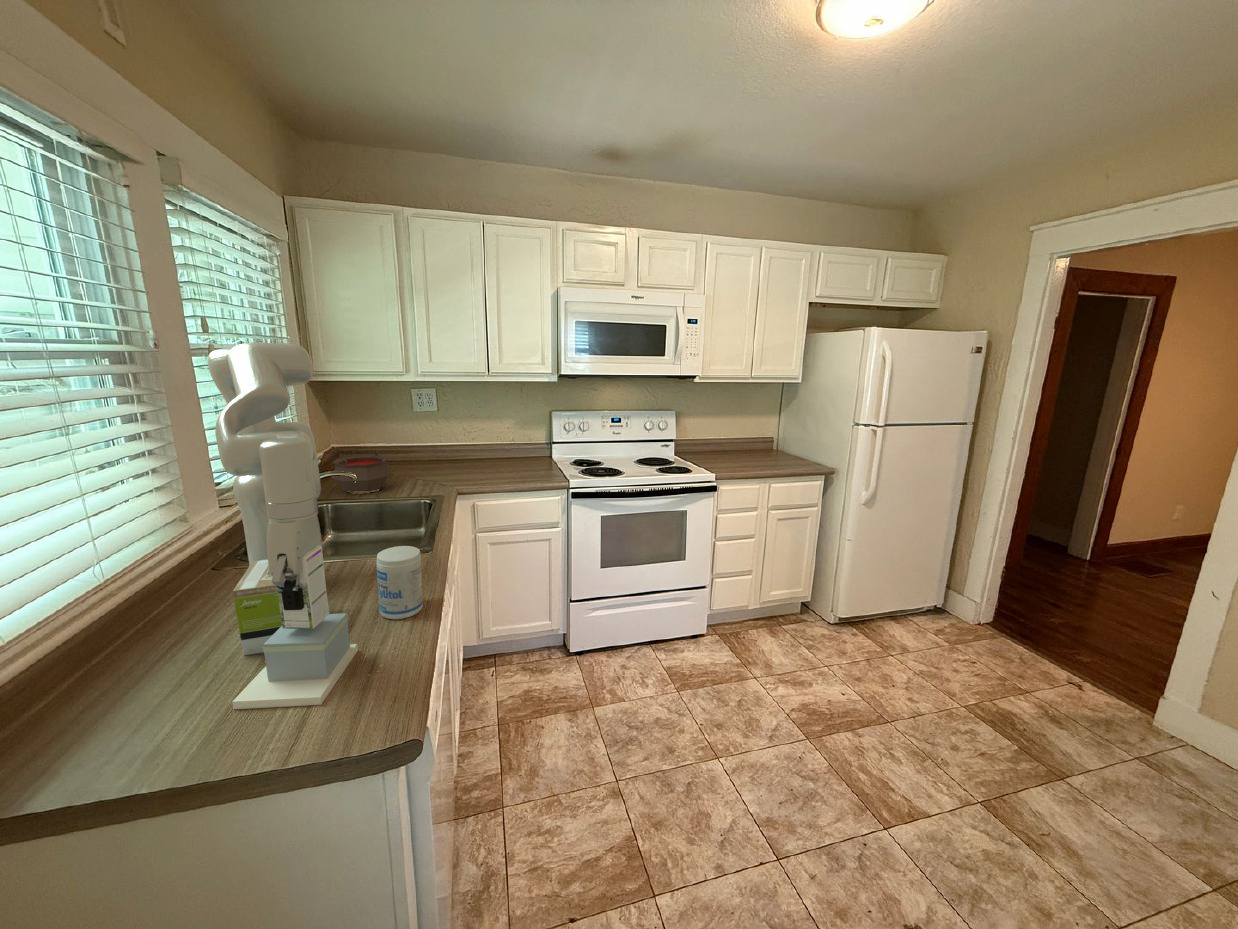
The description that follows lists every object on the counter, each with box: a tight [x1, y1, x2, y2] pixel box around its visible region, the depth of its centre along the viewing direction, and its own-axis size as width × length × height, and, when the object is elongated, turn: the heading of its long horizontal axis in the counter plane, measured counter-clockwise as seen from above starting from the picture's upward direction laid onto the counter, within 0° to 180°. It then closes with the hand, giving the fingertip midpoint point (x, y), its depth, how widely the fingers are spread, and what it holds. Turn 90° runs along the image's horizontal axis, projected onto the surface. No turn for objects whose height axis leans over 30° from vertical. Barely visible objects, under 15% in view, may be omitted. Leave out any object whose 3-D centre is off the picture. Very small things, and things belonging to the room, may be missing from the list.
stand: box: [231, 613, 359, 710], centre depth 91 cm, size 16×14×9 cm
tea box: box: [232, 560, 282, 656], centre depth 104 cm, size 15×10×15 cm
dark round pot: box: [330, 449, 393, 492], centre depth 212 cm, size 24×24×16 cm
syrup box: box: [277, 545, 330, 629], centre depth 90 cm, size 6×6×14 cm
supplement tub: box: [375, 545, 424, 620], centre depth 115 cm, size 10×10×15 cm
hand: (303, 599), depth 91 cm, fingers closed on syrup box, 6 cm apart
